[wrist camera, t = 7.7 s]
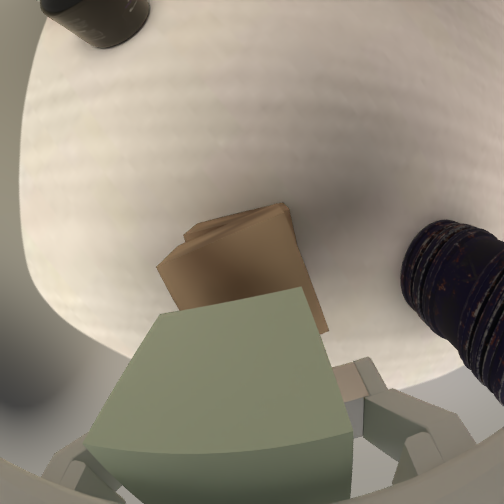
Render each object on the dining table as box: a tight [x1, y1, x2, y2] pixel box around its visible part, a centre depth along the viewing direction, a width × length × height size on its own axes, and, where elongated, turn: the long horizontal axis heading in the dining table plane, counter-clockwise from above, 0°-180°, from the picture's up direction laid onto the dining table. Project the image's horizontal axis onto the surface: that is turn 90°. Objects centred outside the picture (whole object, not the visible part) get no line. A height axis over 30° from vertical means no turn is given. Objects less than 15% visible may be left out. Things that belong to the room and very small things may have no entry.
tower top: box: [156, 203, 329, 334], centre depth 17 cm, size 7×7×4 cm
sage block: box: [82, 287, 353, 504], centre depth 7 cm, size 5×5×6 cm
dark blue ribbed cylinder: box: [400, 220, 504, 406], centre depth 16 cm, size 10×10×15 cm
